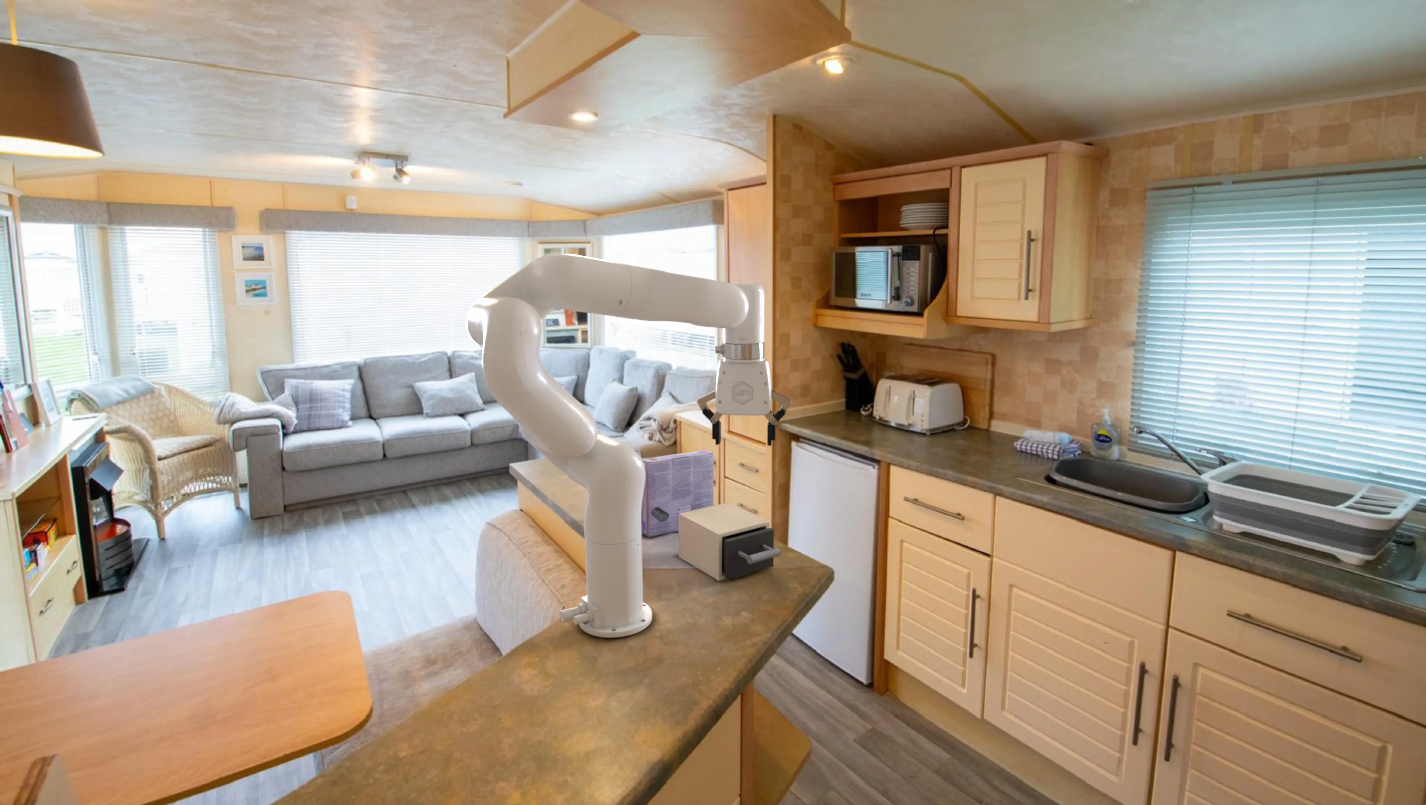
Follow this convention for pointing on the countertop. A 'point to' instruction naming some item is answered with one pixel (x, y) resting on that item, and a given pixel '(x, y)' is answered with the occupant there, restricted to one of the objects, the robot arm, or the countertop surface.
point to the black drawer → (748, 552)
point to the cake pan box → (675, 489)
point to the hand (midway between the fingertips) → (743, 443)
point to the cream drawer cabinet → (712, 534)
